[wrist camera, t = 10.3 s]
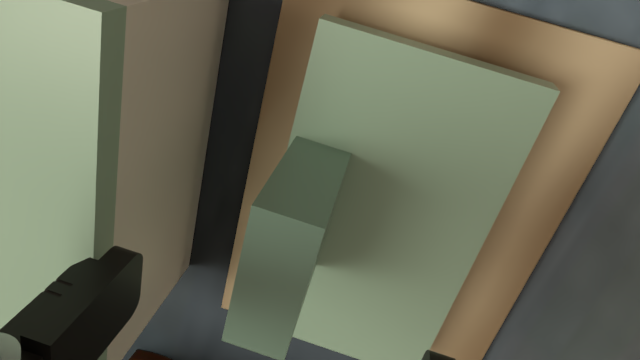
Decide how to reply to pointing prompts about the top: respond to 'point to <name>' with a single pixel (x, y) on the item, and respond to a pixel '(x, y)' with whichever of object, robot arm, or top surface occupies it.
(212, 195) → the top surface
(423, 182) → the lid piece
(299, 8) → the cork mat
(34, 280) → the parts tub
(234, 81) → the top surface
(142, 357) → the food container
